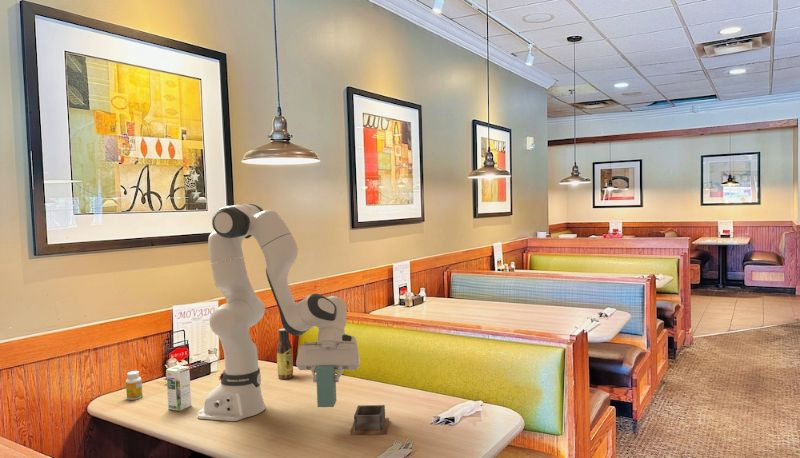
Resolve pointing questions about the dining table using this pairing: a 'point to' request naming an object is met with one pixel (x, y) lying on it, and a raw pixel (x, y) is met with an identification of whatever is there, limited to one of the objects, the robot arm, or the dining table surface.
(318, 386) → the teal block
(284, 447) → the dining table surface
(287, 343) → the sauce bottle
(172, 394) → the syrup box
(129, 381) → the supplement bottle
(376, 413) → the box
